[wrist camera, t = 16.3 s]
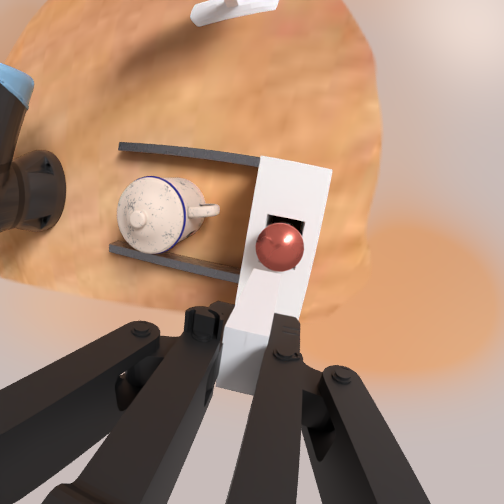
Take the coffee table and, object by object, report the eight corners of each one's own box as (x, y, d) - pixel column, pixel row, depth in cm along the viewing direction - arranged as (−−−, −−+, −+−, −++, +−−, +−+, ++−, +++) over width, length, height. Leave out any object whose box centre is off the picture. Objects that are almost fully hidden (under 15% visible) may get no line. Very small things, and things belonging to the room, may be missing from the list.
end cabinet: (249, 277, 41) (234, 307, 32) (270, 161, 37) (260, 155, 28) (299, 288, 41) (298, 320, 31) (324, 172, 36) (332, 169, 27)
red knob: (261, 248, 34) (251, 266, 28) (268, 211, 33) (260, 219, 27) (298, 256, 34) (298, 276, 27) (306, 219, 33) (308, 229, 26)
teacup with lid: (152, 239, 42) (107, 260, 31) (148, 178, 40) (100, 181, 29) (230, 239, 41) (204, 262, 29) (227, 172, 38) (199, 170, 27)
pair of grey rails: (117, 247, 44) (109, 251, 41) (128, 143, 39) (119, 142, 37) (249, 278, 41) (246, 285, 39) (270, 160, 37) (269, 158, 35)
